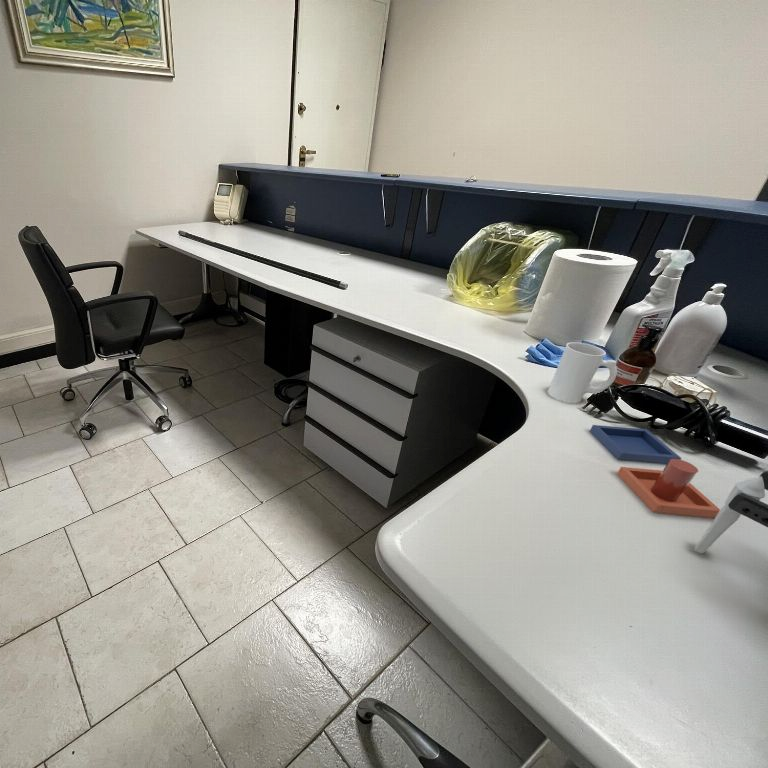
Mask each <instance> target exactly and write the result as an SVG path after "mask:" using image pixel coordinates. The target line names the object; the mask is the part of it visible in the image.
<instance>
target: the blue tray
mask: <svg viewBox="0 0 768 768" xmlns="http://www.w3.org/2000/svg"><path fill="white" fill-rule="evenodd" d="M589 433H590V434H592V436H594V438H595V439H596V440H597V441H598V442H600V444H601V445H602V446H603V447H604V448H605V449H606V450H607V451H608V452H609V453H610V454H611V455H612V456H613V457H614V458H615V459H616V460H617V461H623V462H636V463H637V462H639V463H647V464H648V463H649V464H660V465H667V464H668V462H669V461H670V460H671V459H680V460H682V457H681V456H680V455H679V454H677V453H676V452H675V451H674V450H672V449H671V448H670V447H669V446H668V445H666V444H665V443H664V442H663V441H662V440H660V439H659V438H658V437H657V436H656V435H654V434H653V433H652V432H651V431H650V430H648V429H647V428H639V427H638V428H637V427H624V426H611V425H598V424H592V425H591V428H590V430H589Z"/></svg>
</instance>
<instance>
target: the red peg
mask: <svg viewBox="0 0 768 768" xmlns="http://www.w3.org/2000/svg"><path fill="white" fill-rule="evenodd" d="M698 472H699V469H698V468H697V466H695V465H694V464H692V463H690V462H688V461H686V460H683V459H681V460H680V459H671V460H670V461H669V462H668V464H665V467H664V468H663V469H662V473H661V474H660V476H659V477H658V478H657V480H656V481H655V483H654V484H653V486H652V487H651V492H652V493H653V494H654V495H655V496H657V497H658V498H660V499H663V500H665V501H669V502H675V501H677V499H678V498H679V497H680V495H681V494H682V493H683V491H684V490H685V488H686V487H687V486H688V484H689V483H690V484H691V482H692V480H693V479H694V478H695V477H696V475H697V473H698Z"/></svg>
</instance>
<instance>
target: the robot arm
mask: <svg viewBox="0 0 768 768" xmlns="http://www.w3.org/2000/svg"><path fill="white" fill-rule="evenodd" d="M760 476H761V477H762V479H763V482H764V490H766V491H768V470H764V471H763V472H762V473H761V474H760V475H759V476H758V477H760ZM728 506H729V508H730V509H732V510H734V511H736V512H738V513H740V514H742V515H741V516H744V517H746V518H748V519H749V520H751V521H754V522H756V523H758V524H760V525H762V526H764V527H765V528H768V504H767V503H765V502H763V501H761V500H760V501H759V500H757V499H755V498H753V497H751V496H748V495H746V494H744V493H739V494H737V495H736V496H735V497H734V498H733V499H732V500H731V502H730V503H729V504H728Z"/></svg>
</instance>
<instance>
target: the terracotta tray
mask: <svg viewBox="0 0 768 768" xmlns="http://www.w3.org/2000/svg"><path fill="white" fill-rule="evenodd" d="M662 471H663V469H662V470H660V469H649V468H638V467H627V466H620V468H619V469H618V471H617V472H616V474H617V476H618V477H619V478H620V479H621V480H622V481H623V482H624V483H625V484H626V485H627V486H628V487H629V488H630V489H631V491H633V493H634V494H635V495H636V496H637V497H638V498H639V499H640V500H641V501H642V502H643V503H644V504H645V505H646V506H647V507H648V508H649V510H650V511H652V513H656V514H666V515H676V516H687V517H696V518H697V517H698V518H708V519H715V518H716V516H717V514H718V513H719V511H720V509H721V508H719V507H718V506H717V505H716V504H715V503H713V501H711V500H710V499H709V498H708V497H707V496H706V495H704V494H703V493H702V492H701V491H699V489H697V488H696V487H695V486H694V485H693V484H692V483H691V482H690V483H689V484H688V486H687V487H686V488H685V490H684V491H683V493H682V494H681V495H680V497H679V498H678V499H677V501H675V502H669V501H665V500H663V499H660V498H658V497H657V496H655V495H654V494H653V493H652V492H651V487H652V486H653V484H654V483H655V481H656V480H657V478H658V477H659V476H660V474H661V473H662Z"/></svg>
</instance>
